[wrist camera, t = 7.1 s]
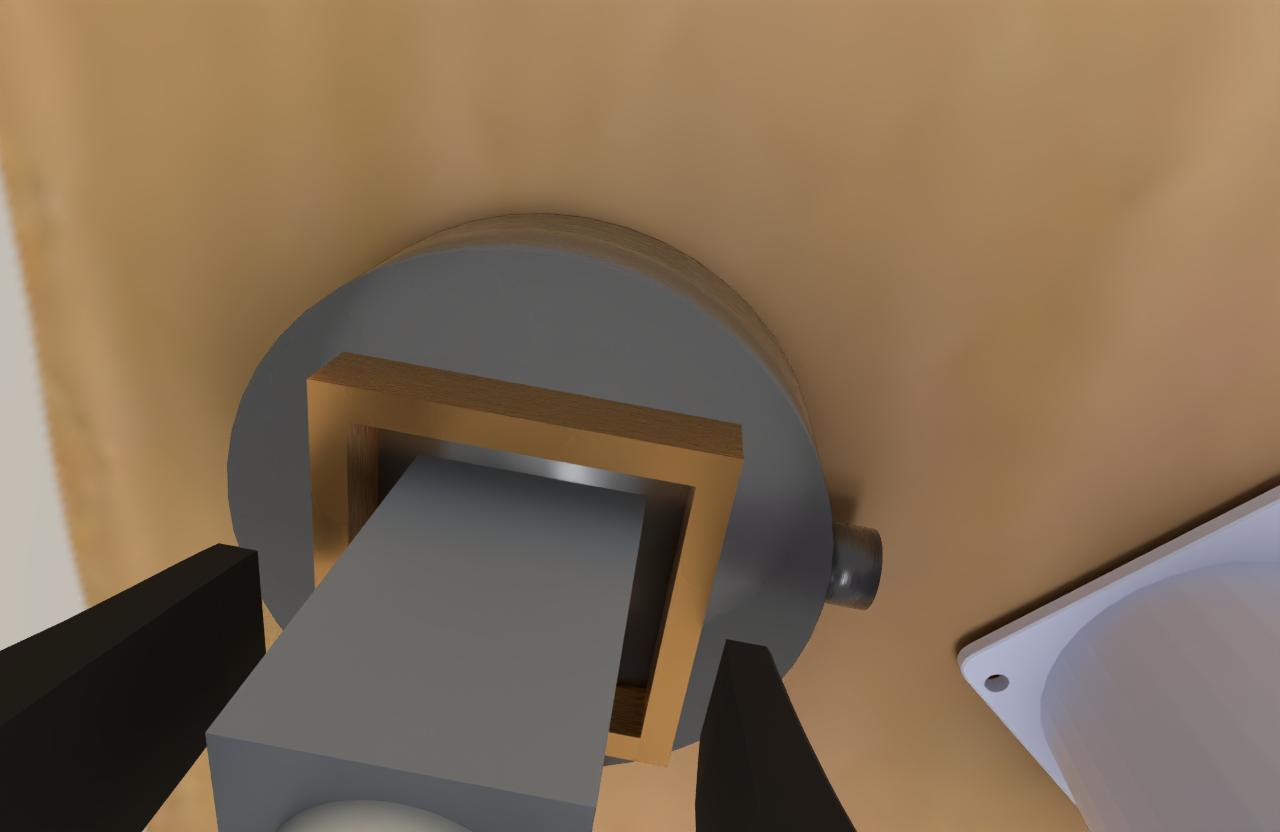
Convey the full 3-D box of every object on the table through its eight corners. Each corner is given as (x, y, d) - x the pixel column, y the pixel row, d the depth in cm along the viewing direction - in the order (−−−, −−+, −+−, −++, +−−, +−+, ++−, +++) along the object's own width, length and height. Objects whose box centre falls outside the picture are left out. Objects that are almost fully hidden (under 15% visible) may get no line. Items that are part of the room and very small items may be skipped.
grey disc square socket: (938, 280, 14) (1022, 362, 10) (793, 710, 19) (813, 875, 15) (298, 166, 14) (144, 203, 10) (316, 619, 19) (215, 759, 15)
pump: (646, 495, 13) (583, 886, 7) (606, 712, 15) (530, 1155, 9) (419, 453, 13) (150, 804, 7) (412, 676, 15) (206, 1090, 9)
